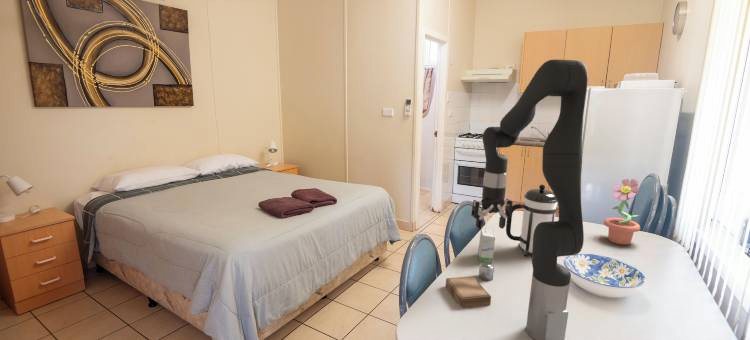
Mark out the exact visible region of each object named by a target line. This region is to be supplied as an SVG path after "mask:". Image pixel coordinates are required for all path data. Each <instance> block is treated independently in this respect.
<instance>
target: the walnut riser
mask: <svg viewBox="0 0 750 340" xmlns="http://www.w3.org/2000/svg"><path fill="white" fill-rule="evenodd" d="M445 287H446V289H447V290H448V292H449V293H450V294H451V296H452V297H453V299H454V300H455V302H456V303H457V304H458V306H459V307H460V309H461V308H463V309H464V308H473V307H481V306H482V307H483V306H491V301H492V300H491V299H492V296H491V294H490V293H489V292H488V291H487V290H486V289H485V288H484V287H483V286H482V284H480V282H478V280H477V279H476V278H475V276H461V277H460V276H459V277H449V278H445Z"/></svg>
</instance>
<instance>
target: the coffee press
mask: <svg viewBox="0 0 750 340" xmlns="http://www.w3.org/2000/svg"><path fill="white" fill-rule="evenodd" d="M523 197H524V203H523V204H520V203H516V204H512V214H513V213H514V212H515V210H518V209H523V214H522V221H521V233H520V235H519V236H516V235H513V234H512V233H511V230H512V220H513V219H512V218H513V215H512V216H511V217H507V218H506V223H505V232H506V235H507V237H508V238H509V239H510V240H512V241H517V242H519V243H518V244H517V246H518V248H521V249H523V250H524V252H523V256H524V257H529V255H530V254H532V248H533V235H534V230H535V228H536V226H537V225H538V224H539V223H541V222H551V221H555V220H556V219H555V218H556V213H557V208H558V206H557V205H558V202H557V199H556V196H555V195H554V193H553V191H552V190H548V189H546V186H545V184H540V185H539V186H538V188H531V189H528V190H527V191H526V193H525V194H524V196H523Z"/></svg>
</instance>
